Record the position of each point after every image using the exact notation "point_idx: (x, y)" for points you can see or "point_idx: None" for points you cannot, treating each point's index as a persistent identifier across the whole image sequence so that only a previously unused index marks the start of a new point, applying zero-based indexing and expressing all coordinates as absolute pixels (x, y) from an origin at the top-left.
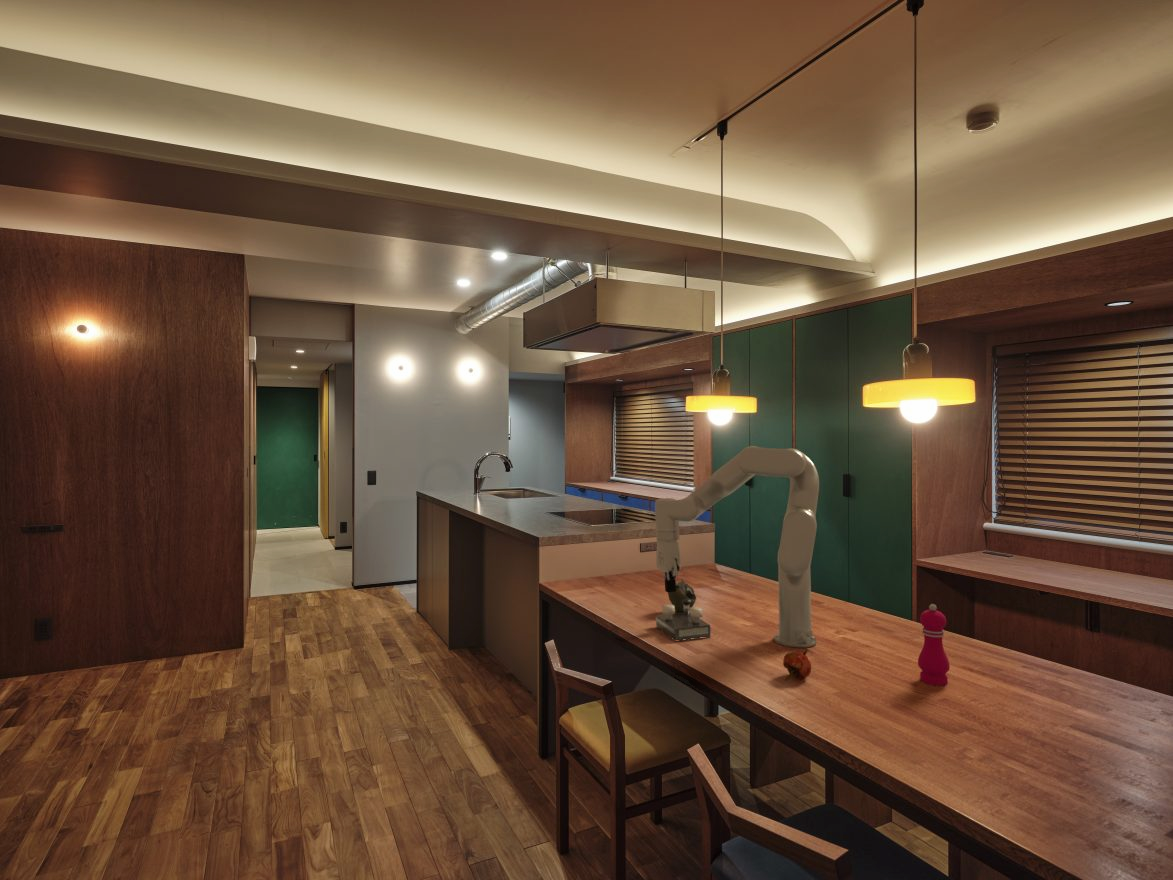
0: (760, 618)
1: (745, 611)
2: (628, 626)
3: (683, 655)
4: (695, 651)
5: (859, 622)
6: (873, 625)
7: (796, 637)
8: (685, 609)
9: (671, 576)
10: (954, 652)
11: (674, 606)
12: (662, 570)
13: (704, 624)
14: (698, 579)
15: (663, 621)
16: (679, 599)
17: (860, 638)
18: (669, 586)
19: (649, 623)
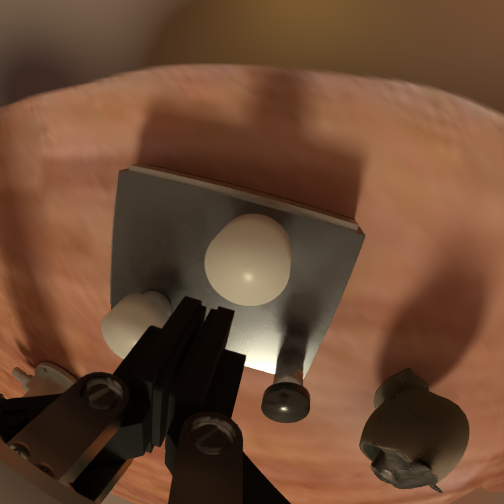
0: None
1: (288, 480)
2: (434, 126)
3: (48, 116)
4: (55, 167)
5: (138, 490)
6: (121, 485)
7: (31, 379)
8: (281, 368)
9: (16, 400)
10: None
11: (217, 291)
12: (72, 497)
13: None
14: (488, 487)
15: (263, 204)
16: (393, 418)
17: None
18: (149, 343)
19: (414, 231)
